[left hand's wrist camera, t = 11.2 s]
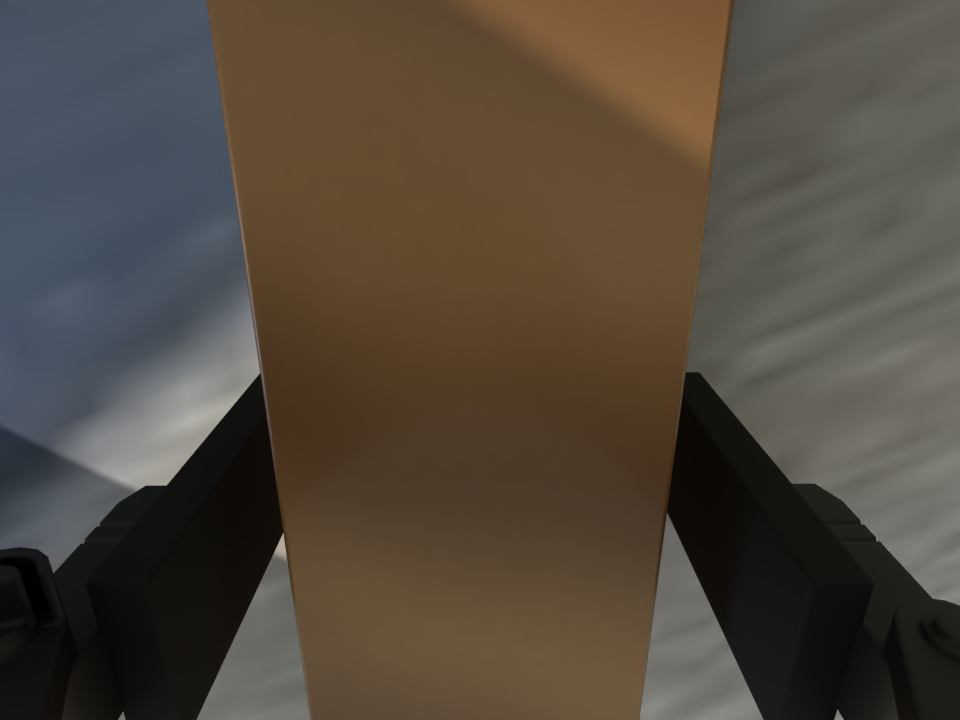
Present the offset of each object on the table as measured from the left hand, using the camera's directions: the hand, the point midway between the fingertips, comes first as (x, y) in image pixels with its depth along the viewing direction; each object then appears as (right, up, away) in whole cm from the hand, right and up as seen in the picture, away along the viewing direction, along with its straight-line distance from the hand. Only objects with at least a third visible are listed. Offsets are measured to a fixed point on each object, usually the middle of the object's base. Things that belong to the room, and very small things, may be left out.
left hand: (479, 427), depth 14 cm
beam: (0, +34, -11) cm, 36 cm away
